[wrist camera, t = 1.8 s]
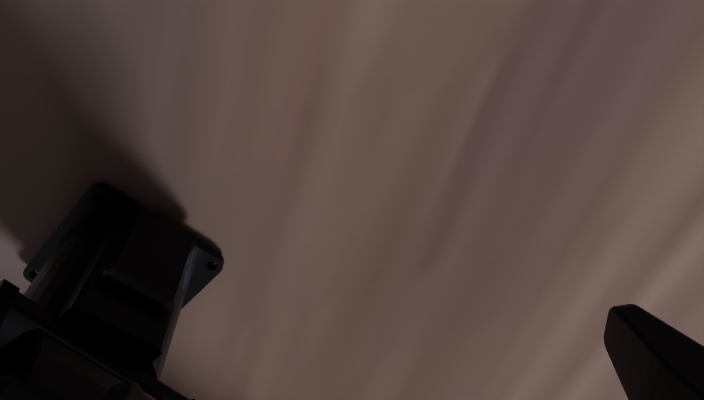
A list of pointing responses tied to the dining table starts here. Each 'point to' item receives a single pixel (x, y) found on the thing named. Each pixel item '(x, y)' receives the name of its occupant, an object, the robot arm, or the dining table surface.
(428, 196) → the dining table surface
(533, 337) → the dining table surface
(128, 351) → the robot arm
